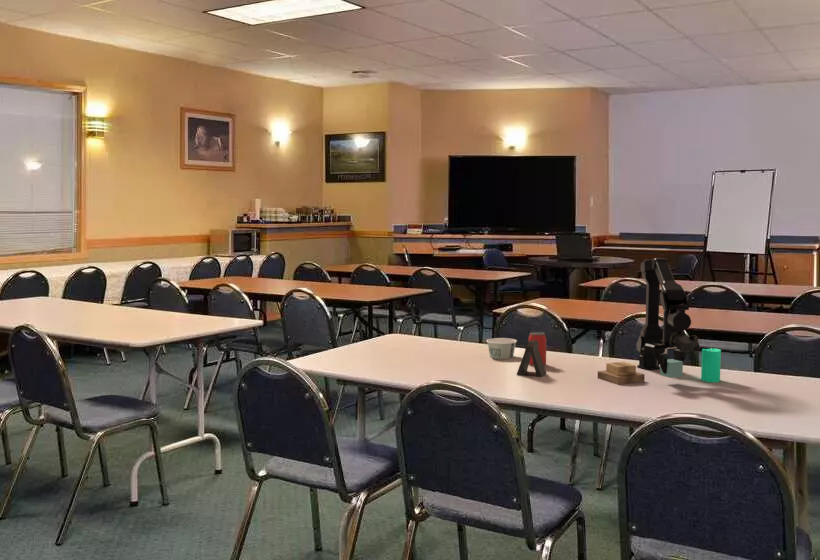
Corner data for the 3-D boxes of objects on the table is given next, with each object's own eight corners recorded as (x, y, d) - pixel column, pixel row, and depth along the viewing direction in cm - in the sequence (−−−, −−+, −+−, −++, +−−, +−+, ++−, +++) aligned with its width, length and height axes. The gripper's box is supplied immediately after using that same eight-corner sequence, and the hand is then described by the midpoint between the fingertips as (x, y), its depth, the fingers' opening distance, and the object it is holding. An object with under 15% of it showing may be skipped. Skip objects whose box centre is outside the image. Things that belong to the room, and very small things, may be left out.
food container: (521, 355, 313) (521, 339, 313) (509, 360, 303) (509, 344, 302) (494, 353, 319) (494, 337, 319) (481, 357, 309) (481, 341, 308)
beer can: (545, 366, 290) (546, 334, 289) (527, 366, 292) (528, 334, 291) (546, 363, 297) (546, 331, 296) (528, 362, 298) (529, 331, 297)
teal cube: (671, 373, 264) (672, 359, 263) (682, 376, 259) (682, 361, 259) (660, 375, 262) (660, 360, 261) (670, 377, 257) (670, 362, 257)
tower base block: (623, 376, 275) (623, 368, 275) (644, 383, 265) (644, 374, 264) (597, 379, 271) (597, 371, 270) (617, 386, 260) (617, 377, 260)
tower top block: (624, 370, 271) (624, 361, 271) (635, 374, 265) (635, 365, 265) (606, 371, 269) (606, 363, 269) (617, 375, 263) (617, 367, 262)
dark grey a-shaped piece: (546, 374, 278) (546, 340, 277) (541, 377, 272) (541, 343, 271) (522, 371, 282) (522, 338, 281) (516, 375, 277) (516, 341, 275)
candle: (719, 378, 268) (720, 344, 267) (720, 382, 262) (721, 347, 261) (700, 377, 270) (701, 343, 269) (701, 381, 264) (702, 346, 263)
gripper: (666, 331, 248) (665, 380, 249) (712, 327, 255) (710, 374, 256) (643, 326, 258) (642, 373, 260) (687, 323, 265) (686, 368, 267)
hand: (671, 372), depth 260 cm, fingers closed on teal cube, 5 cm apart
